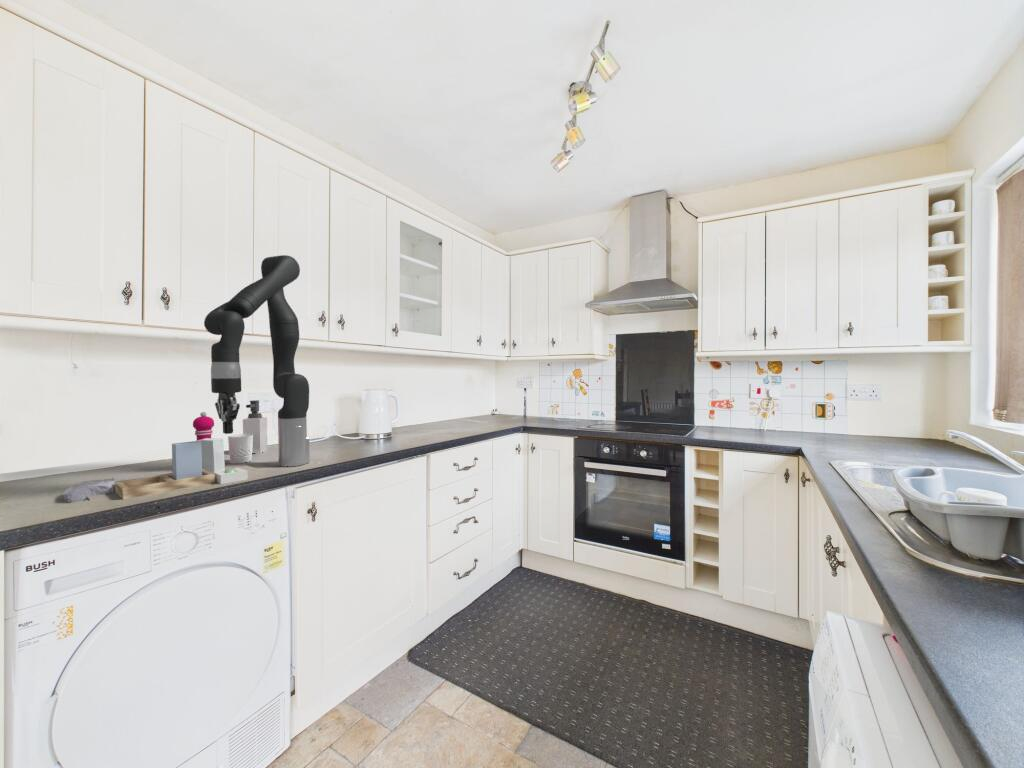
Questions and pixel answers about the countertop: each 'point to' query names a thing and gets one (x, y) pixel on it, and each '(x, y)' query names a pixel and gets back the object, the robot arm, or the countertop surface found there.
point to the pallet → (160, 484)
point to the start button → (229, 470)
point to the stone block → (89, 489)
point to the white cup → (240, 448)
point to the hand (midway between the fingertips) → (228, 433)
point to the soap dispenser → (256, 427)
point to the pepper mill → (203, 426)
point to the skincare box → (212, 454)
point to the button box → (230, 476)
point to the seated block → (186, 460)
